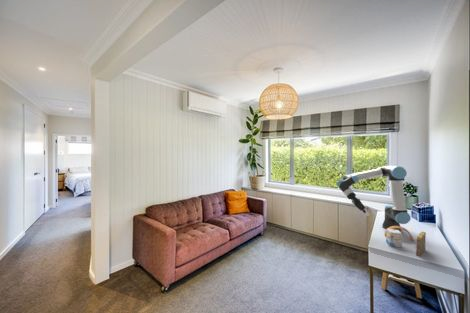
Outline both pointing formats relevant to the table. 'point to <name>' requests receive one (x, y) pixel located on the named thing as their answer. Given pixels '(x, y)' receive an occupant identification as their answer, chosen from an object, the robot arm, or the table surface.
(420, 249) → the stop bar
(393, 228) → the arch
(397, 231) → the ink box
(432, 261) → the table surface
